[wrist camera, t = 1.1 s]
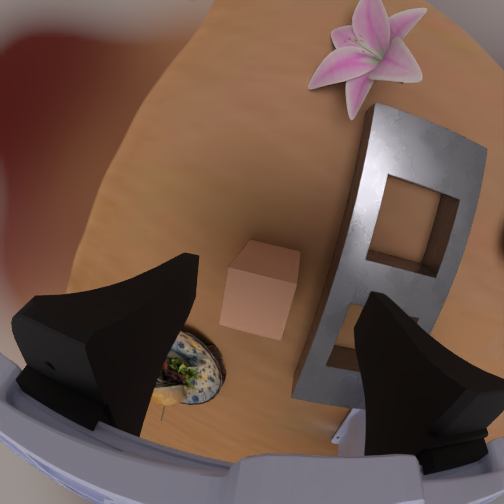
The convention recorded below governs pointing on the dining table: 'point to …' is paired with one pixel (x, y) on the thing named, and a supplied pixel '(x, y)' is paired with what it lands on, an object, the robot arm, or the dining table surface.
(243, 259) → the peg
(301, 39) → the dining table surface
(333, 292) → the grey slotted board
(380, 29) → the lily
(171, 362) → the burger
